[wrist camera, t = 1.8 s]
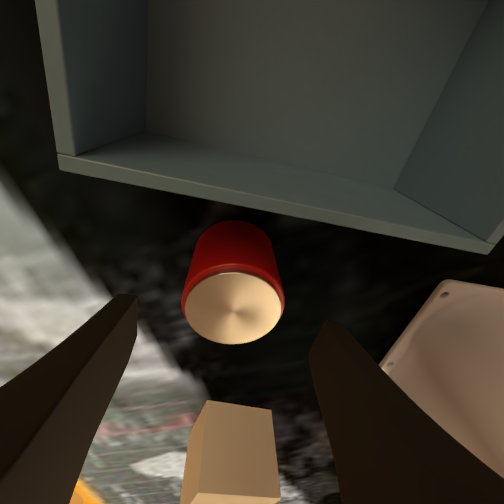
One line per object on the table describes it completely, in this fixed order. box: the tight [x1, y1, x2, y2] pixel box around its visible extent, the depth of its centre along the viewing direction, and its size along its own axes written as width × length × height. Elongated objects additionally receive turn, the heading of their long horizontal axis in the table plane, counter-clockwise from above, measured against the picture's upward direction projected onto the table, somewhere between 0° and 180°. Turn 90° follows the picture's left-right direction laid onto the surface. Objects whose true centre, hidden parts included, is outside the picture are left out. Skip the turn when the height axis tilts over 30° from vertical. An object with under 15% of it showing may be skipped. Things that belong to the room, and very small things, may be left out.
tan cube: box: [180, 400, 281, 504], centre depth 21 cm, size 6×6×6 cm
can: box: [181, 220, 285, 344], centre depth 13 cm, size 4×4×4 cm
